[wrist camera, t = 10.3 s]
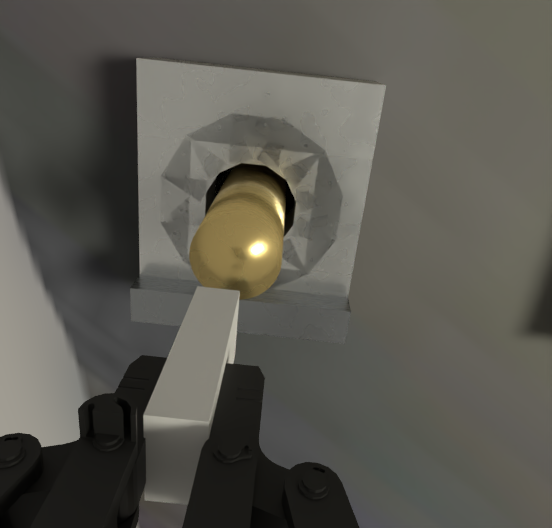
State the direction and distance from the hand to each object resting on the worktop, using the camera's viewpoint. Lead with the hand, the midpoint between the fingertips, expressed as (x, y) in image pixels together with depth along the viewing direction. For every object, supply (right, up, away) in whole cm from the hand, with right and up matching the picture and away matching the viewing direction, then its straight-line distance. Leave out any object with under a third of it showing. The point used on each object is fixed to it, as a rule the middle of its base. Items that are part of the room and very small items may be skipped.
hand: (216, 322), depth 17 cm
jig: (+1, +7, +16) cm, 18 cm away
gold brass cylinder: (+1, +7, +16) cm, 18 cm away
